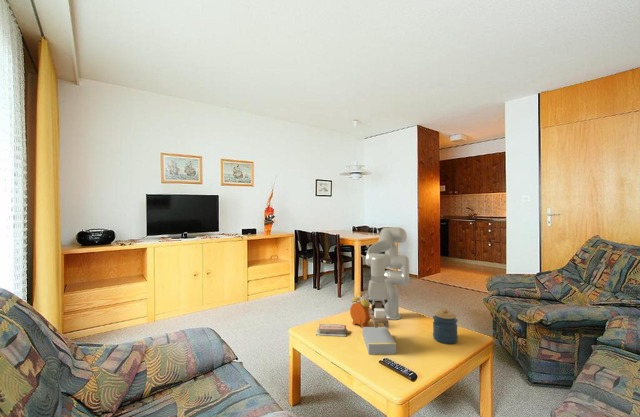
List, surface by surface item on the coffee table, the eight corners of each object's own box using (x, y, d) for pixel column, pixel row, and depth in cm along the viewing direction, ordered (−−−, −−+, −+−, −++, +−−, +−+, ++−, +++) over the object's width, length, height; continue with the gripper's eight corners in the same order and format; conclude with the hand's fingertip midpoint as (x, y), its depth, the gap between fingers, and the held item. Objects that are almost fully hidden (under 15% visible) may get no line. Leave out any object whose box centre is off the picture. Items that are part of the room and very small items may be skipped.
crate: (374, 315, 160) (374, 308, 159) (383, 315, 160) (383, 308, 159) (375, 318, 156) (375, 310, 155) (385, 318, 156) (384, 310, 155)
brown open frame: (368, 314, 171) (368, 296, 171) (380, 313, 171) (380, 296, 171) (375, 327, 152) (374, 307, 152) (388, 327, 152) (388, 307, 152)
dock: (362, 335, 173) (362, 326, 173) (386, 335, 173) (386, 326, 173) (368, 354, 151) (368, 344, 151) (396, 354, 151) (396, 343, 151)
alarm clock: (372, 327, 184) (371, 295, 184) (365, 329, 181) (365, 297, 180) (356, 320, 195) (356, 290, 195) (350, 323, 191) (349, 292, 191)
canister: (434, 332, 175) (434, 303, 175) (458, 337, 169) (458, 306, 169) (431, 341, 164) (430, 310, 164) (456, 346, 158) (456, 314, 158)
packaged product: (346, 322, 181) (346, 329, 171) (346, 330, 181) (346, 337, 171) (317, 321, 183) (315, 328, 173) (317, 329, 183) (315, 336, 173)
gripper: (391, 276, 165) (391, 309, 165) (361, 277, 165) (361, 309, 165) (394, 280, 158) (394, 314, 158) (363, 280, 158) (363, 314, 158)
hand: (378, 311), depth 162 cm, fingers closed on brown open frame, 4 cm apart
